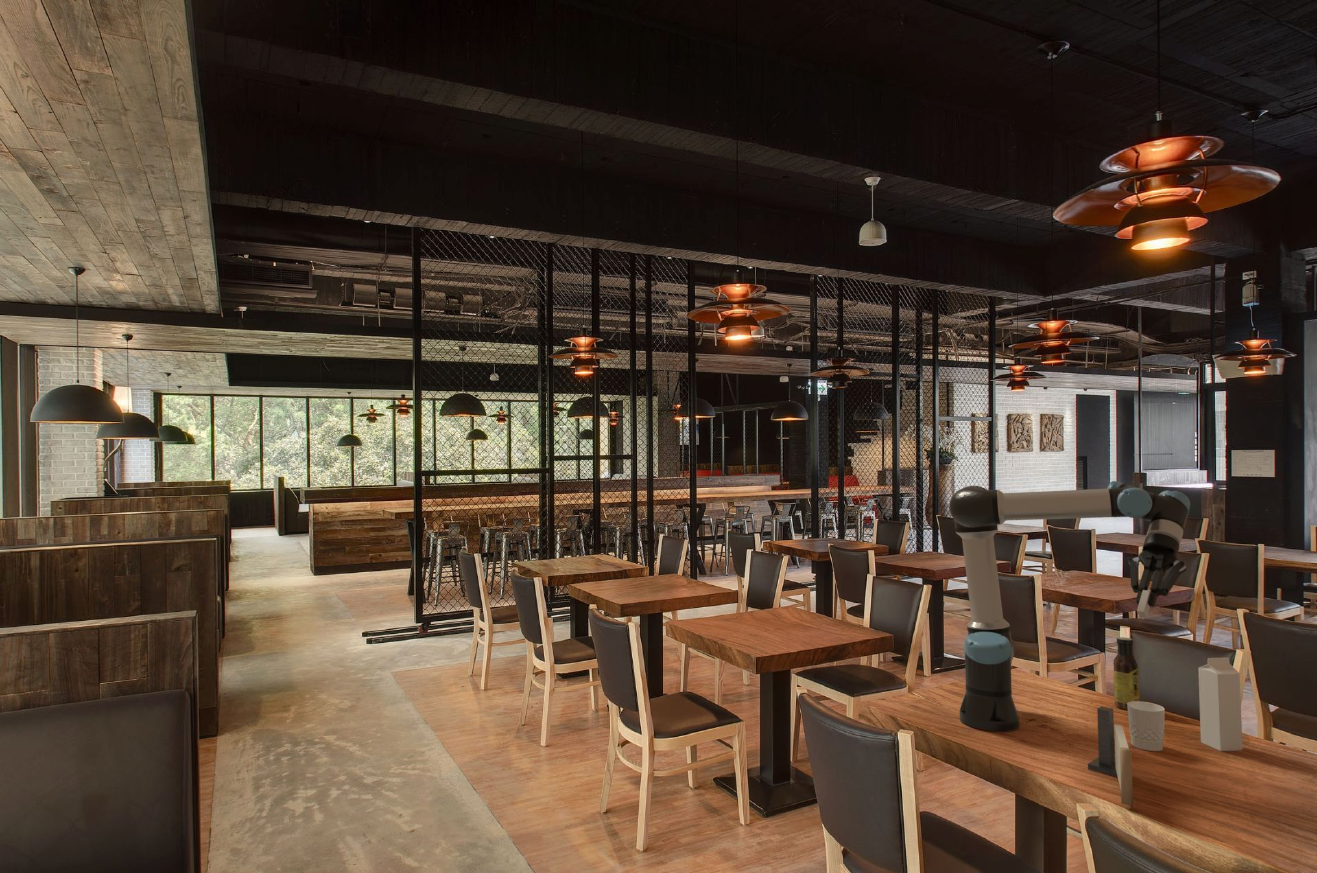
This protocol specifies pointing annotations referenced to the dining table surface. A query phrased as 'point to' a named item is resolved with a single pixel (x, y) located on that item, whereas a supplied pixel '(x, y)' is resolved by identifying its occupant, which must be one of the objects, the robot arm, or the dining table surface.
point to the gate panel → (1123, 765)
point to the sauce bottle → (1125, 674)
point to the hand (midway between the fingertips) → (1141, 614)
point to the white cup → (1146, 725)
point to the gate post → (1105, 743)
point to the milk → (1220, 705)
